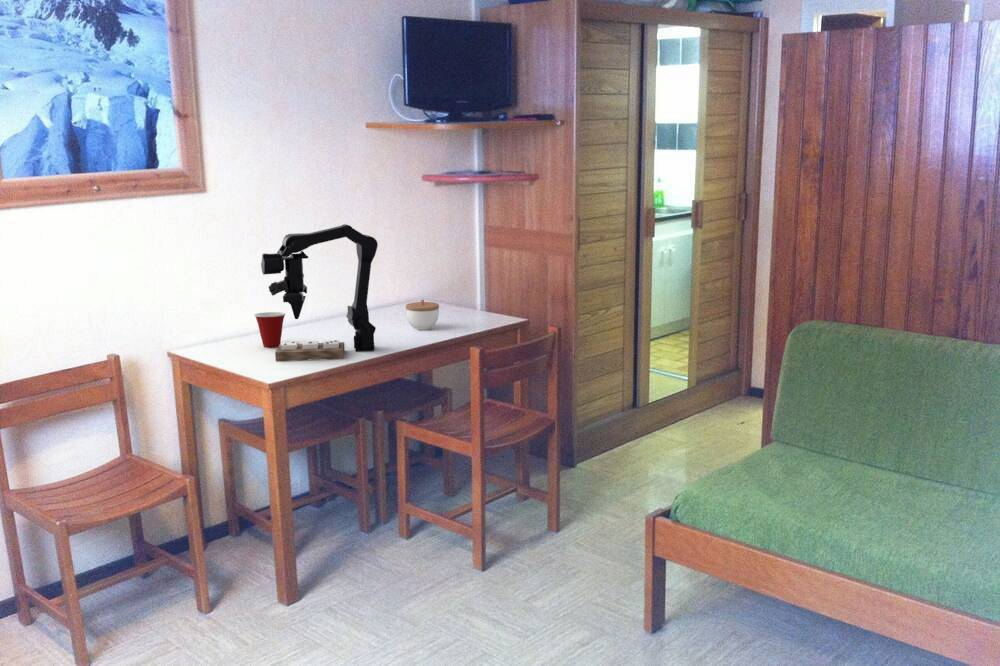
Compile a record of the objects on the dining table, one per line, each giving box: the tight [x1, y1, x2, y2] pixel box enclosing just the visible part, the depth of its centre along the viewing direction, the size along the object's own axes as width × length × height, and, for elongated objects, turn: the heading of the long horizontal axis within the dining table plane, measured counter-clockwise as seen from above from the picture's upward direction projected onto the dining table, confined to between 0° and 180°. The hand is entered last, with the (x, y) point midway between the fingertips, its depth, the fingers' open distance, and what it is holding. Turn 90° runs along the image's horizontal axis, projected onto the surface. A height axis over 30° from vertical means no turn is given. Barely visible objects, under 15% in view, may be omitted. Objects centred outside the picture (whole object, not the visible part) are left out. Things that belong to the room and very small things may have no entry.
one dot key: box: [301, 340, 319, 349], centre depth 321 cm, size 5×5×2 cm
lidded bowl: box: [405, 299, 440, 331], centre depth 362 cm, size 13×13×11 cm
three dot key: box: [322, 339, 340, 349], centre depth 322 cm, size 5×5×2 cm
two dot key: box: [280, 341, 299, 350], centre depth 320 cm, size 5×5×2 cm
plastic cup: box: [253, 311, 286, 349], centre depth 335 cm, size 11×11×12 cm
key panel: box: [274, 341, 346, 362], centre depth 321 cm, size 22×12×3 cm, turn 96°
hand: (296, 318), depth 318 cm, fingers closed
